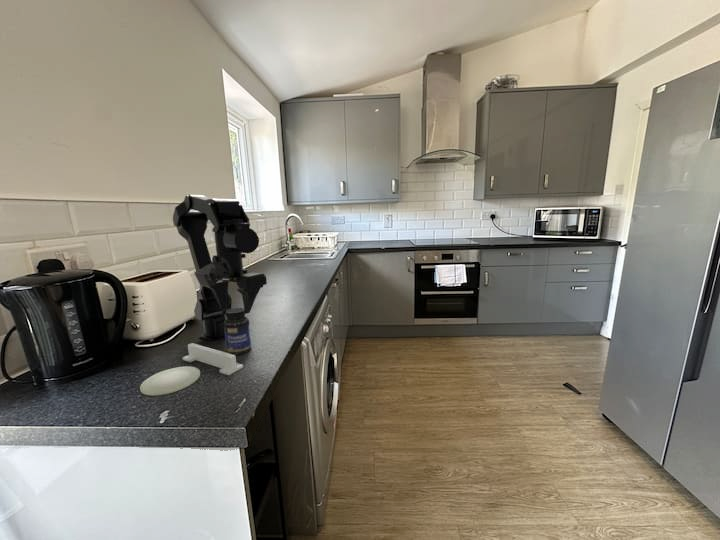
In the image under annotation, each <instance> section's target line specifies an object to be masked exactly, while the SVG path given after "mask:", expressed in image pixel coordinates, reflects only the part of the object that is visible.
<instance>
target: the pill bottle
mask: <svg viewBox="0 0 720 540" xmlns="http://www.w3.org/2000/svg"><path fill="white" fill-rule="evenodd" d="M250 327H251V326H250V320H249V318H248V317H247V316H246V313H245V310H244V307H233V308H232V307H231V309H229V310H227V311H226V314H225V322H224V331H225V336H224V339H225V341H224V342H225V348H226V349H225V351H226V353H229V354H232V355H235V356H238V355H242V354H245V353H248V352H249V351H251V349H252V340H251V328H250Z"/></svg>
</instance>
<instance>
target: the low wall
mask: <svg viewBox="0 0 720 540" xmlns="http://www.w3.org/2000/svg"><path fill="white" fill-rule="evenodd" d="M187 351H188V355H185V356H183V357H182V361H184V362H188V363H192V362H194V361H198V362H199V363H200V362H201V363H204V364H208V365H210V366H213V367H216V368H219V373H220V374H224V375H226V376H230V375H233V374H234V373H235V372H237V371H239V370H241V369H242V368H244V364H241V363H238V362H237V359H236V356H237V355H232V354H229V353H227V352H225V351H222V350H218V349H214V348H210V347H207V346H203V345H201V344H197V343H193V342H192V343H189V344H187Z"/></svg>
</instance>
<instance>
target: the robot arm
mask: <svg viewBox="0 0 720 540" xmlns="http://www.w3.org/2000/svg"><path fill="white" fill-rule="evenodd" d="M209 221H210V223H211V225H212V226H213V228H212V232H213V234H214V241H215V243H214V244H215V251H216V255H212V257H211V254H210V251H209V248H208V244H207V242H206V238H205V234H206V231H207V228H208V223H209ZM172 223H173V226H175V227H176V229H177V232H178V234H179V235H180V237H182V238H183V239H184V240H186V241H187V246H188V248H189V252H190V255H191V259H192V261H193V266H194V269H195V271H194V276H195V278H196V280H197V282H198V284H199V289H198V291H197V294H196V299H197V301H196V304H195V307H194V310H193V311H194V316H195V318H196V319H197V320H198V321H200V322H202V327H203V333H202V334H200V335H199V338H202V339H205V340H209V341H215V340H219V339H221V338H223V337H225V331H224V322H225V320H226V311H227V310H229V309H232V304H233V303H232V302H233V301H232V296H231V295H230V294H229V282H232V283H236V286H237V287H238V288H237V289H236V290H237V292H239V294H240V295H241V296H242V297H241V298H242V304H243V308H244V310H245V315H246V314H249V313H251V311H252V307H253V306H254V303H255V301H256V298H257V296H258V295H259V292H260V290H261V289H262V288H264V286H266V285H267V284H268V282H267V276H266V274H264V273H263V272H262V273H261V272H248V269H244V265H243V259H245V258H246V254H251V253H253V252H255V251H256V250H257V249H258V247H259V244H260V238H259V236H258V234H257V232H256V231H255V230H254V229H252V228H250V227H251V223H250V218H249V217H248V215H247V214H246V212H245V209H244V208H243V206H242V204H241V203H240V201H239V200H238V199H235V198H233V199H231V198H211V197H207V196H206V195H204V194H187V195H185V197H184V200H183V201H182V202H181V203H179V204H178V205H176V206H175V208H174V211H173V215H172Z"/></svg>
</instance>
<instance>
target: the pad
mask: <svg viewBox="0 0 720 540" xmlns="http://www.w3.org/2000/svg"><path fill="white" fill-rule="evenodd" d="M200 376H201V370H200V369H199V368H198V367H194V366H190V365H189V366H188V365H187V366H185V365H184V366H177V367H173V368H169V369H165V370H162V371H159V372H157V373H155V374H152V375H151V376H149V377H148V378H146V379H144V381H143V382H142V383H141V384H140V387H139V390H140V393H141V394H143V395H146V396H149V397H150V396H152V397H157V396H164V395H169V394H172V393H176V392H179V391H181V390H184V389H185V388H187V387H190V386H191V385H192V384H194V383H196V381H198V380H199V378H200Z"/></svg>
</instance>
